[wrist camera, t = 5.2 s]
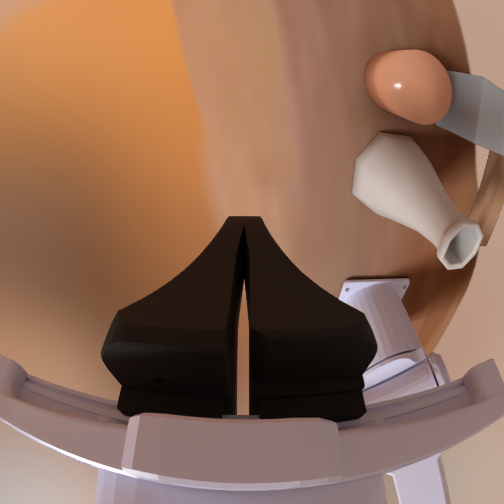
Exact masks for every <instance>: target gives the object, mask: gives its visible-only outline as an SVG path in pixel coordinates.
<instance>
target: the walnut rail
mask: <svg viewBox="0 0 504 504" xmlns="http://www.w3.org/2000/svg"><path fill="white" fill-rule="evenodd" d="M503 204H504V156H503V155H501V154H498V153H496V152H494V151H492V150H490V151H489V155H488V159H487V163H486V167H485V171H484V175H483V178H482V181H481V185H480V188H479V191H478V194H477V197H476V200H475V203H474V206H473V209H472V212H471V214H470V217H469V219H473V220H475V221H476V222H477V223H478V224H479V226H480V228H481V230H482V232H483V234H484V237H483V239H482V242H481V244H480V246H486V245H487V243H488V241H489V239H490V236H491V234H492V232H493V229H494V227H495V224H496V222H497V220H498V217H499V215H500V212H501V209H502V206H503Z"/></svg>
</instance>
